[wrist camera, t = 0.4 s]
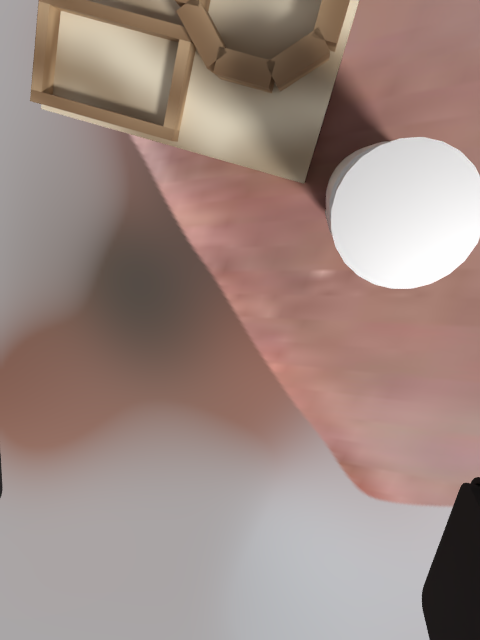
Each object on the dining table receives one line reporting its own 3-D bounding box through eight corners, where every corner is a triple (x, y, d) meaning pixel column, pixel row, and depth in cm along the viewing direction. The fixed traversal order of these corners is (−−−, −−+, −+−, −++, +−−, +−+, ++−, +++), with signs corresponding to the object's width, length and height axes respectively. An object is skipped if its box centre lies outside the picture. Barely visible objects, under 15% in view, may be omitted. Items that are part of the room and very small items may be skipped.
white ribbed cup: (309, 171, 35) (304, 180, 21) (399, 128, 33) (459, 105, 19) (343, 253, 37) (359, 312, 23) (431, 216, 35) (508, 255, 21)
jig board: (74, -144, 31) (44, -182, 27) (379, -68, 30) (387, -98, 26) (49, 110, 37) (21, 105, 33) (304, 182, 35) (303, 185, 32)
